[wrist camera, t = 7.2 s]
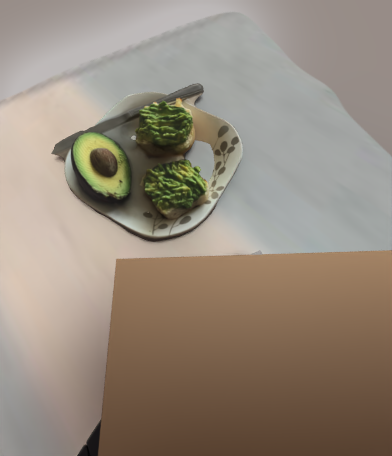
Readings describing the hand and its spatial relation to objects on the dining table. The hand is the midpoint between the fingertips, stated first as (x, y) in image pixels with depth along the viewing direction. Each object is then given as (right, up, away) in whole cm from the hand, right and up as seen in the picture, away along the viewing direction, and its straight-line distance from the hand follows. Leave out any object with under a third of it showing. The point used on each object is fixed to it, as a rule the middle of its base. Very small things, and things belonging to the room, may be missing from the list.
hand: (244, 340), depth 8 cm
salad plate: (-6, +11, +19) cm, 23 cm away
